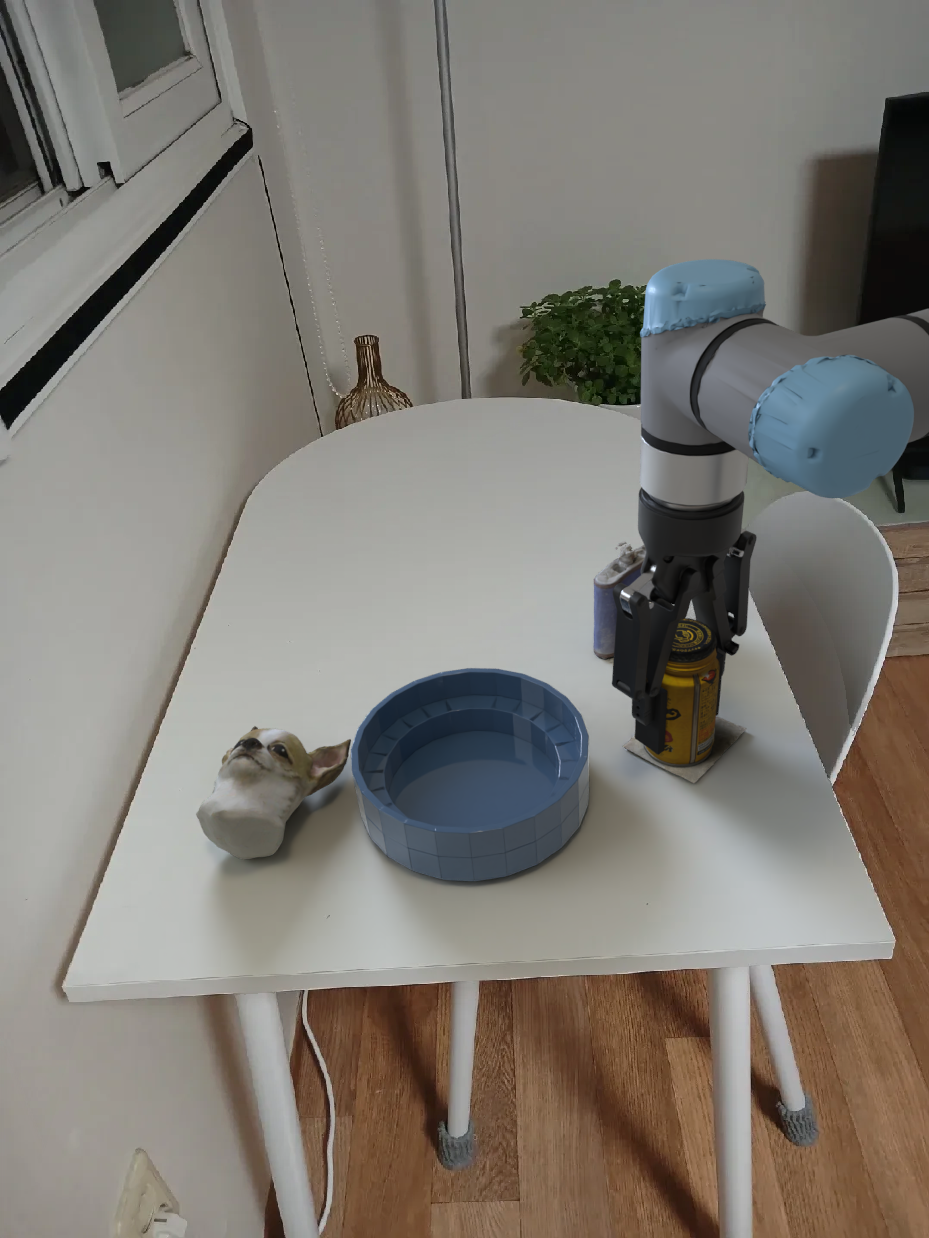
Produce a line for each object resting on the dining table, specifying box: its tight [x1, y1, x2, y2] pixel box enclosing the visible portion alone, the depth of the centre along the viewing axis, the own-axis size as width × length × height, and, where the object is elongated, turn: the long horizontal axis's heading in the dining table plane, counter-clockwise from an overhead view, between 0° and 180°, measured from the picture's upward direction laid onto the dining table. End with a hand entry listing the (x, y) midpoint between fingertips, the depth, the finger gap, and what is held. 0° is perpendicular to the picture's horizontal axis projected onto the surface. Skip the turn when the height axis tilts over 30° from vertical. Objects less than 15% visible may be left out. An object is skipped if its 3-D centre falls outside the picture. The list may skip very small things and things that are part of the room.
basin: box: [350, 667, 590, 882], centre depth 79 cm, size 19×19×6 cm
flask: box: [593, 541, 646, 660], centre depth 94 cm, size 9×3×11 cm, turn 133°
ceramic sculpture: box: [195, 725, 352, 860], centre depth 79 cm, size 11×9×15 cm
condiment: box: [621, 617, 748, 784], centre depth 80 cm, size 7×8×12 cm
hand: (677, 725), depth 82 cm, fingers closed on condiment, 6 cm apart
